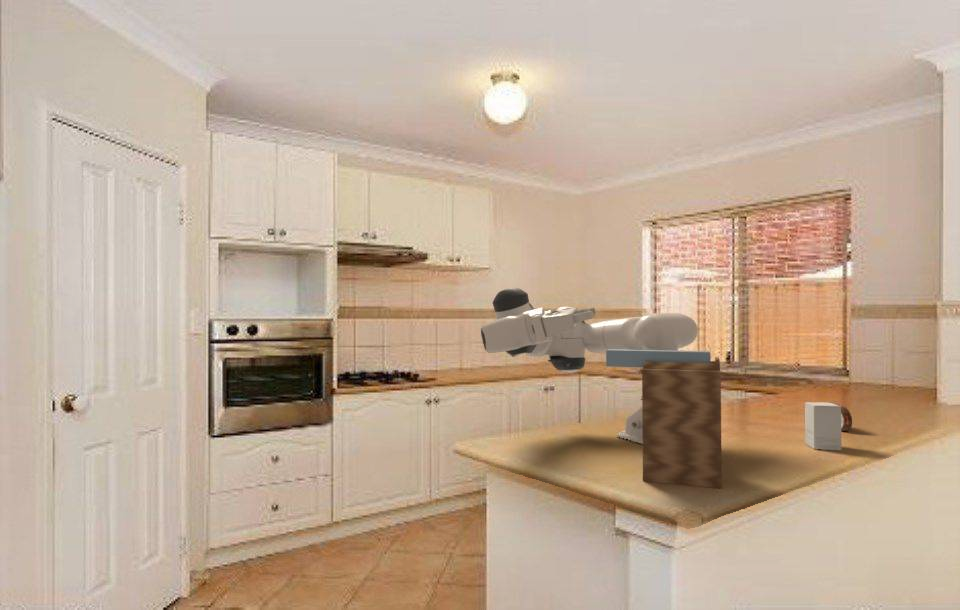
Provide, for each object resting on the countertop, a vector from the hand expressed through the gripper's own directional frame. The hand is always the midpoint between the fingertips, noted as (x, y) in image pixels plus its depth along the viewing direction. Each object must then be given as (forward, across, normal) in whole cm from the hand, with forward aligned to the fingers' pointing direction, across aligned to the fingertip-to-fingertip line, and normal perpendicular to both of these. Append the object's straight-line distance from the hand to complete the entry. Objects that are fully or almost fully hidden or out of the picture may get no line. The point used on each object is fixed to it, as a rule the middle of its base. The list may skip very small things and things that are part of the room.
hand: (594, 312), depth 145 cm
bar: (+11, +1, -17) cm, 20 cm away
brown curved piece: (+62, -66, -63) cm, 111 cm away
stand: (+10, +4, -43) cm, 44 cm away
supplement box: (+51, -36, -57) cm, 84 cm away
